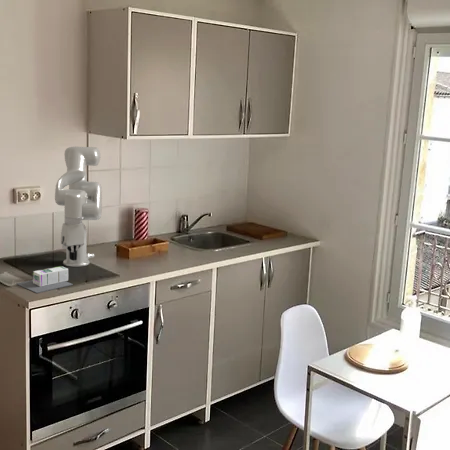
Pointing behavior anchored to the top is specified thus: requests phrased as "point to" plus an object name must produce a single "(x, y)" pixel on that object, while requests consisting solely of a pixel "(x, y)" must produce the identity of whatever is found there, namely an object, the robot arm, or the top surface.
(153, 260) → the top surface
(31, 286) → the mat
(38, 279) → the syrup box
